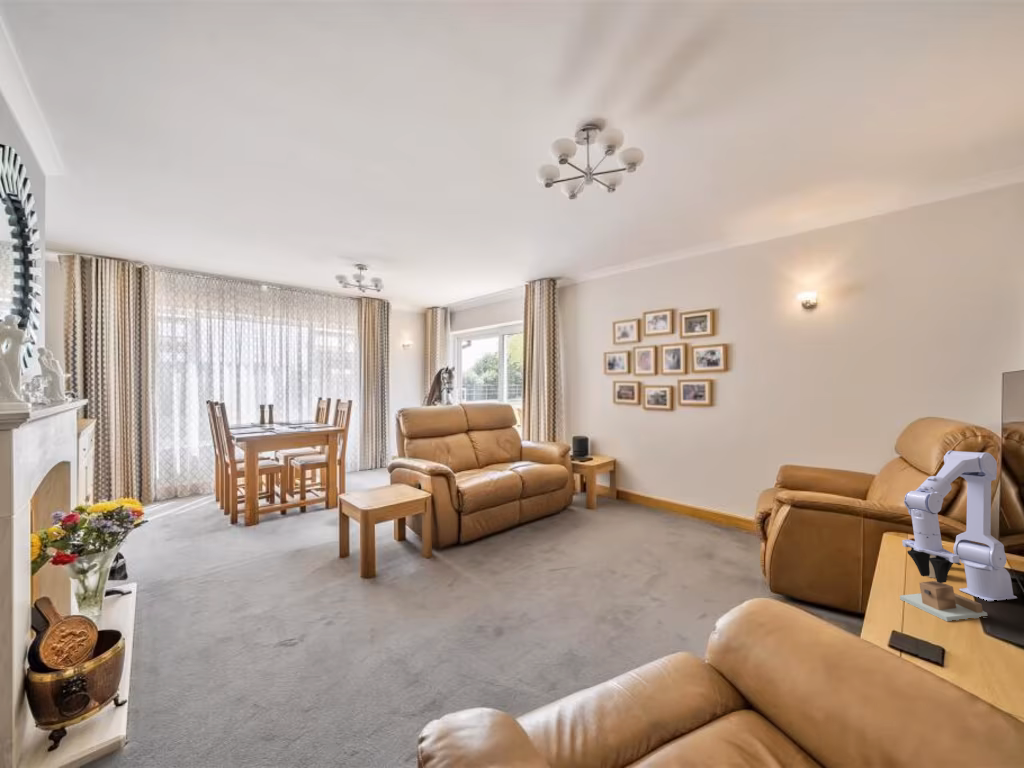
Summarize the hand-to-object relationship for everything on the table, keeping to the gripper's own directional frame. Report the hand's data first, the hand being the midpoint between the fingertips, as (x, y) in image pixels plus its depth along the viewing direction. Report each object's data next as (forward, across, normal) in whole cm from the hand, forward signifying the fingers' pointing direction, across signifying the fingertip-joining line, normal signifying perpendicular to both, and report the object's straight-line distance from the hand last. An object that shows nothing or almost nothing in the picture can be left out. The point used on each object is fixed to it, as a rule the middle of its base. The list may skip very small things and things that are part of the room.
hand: (933, 578), depth 123 cm
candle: (+9, -20, +21) cm, 30 cm away
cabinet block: (+8, 0, 0) cm, 8 cm away
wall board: (+9, -1, +2) cm, 9 cm away
